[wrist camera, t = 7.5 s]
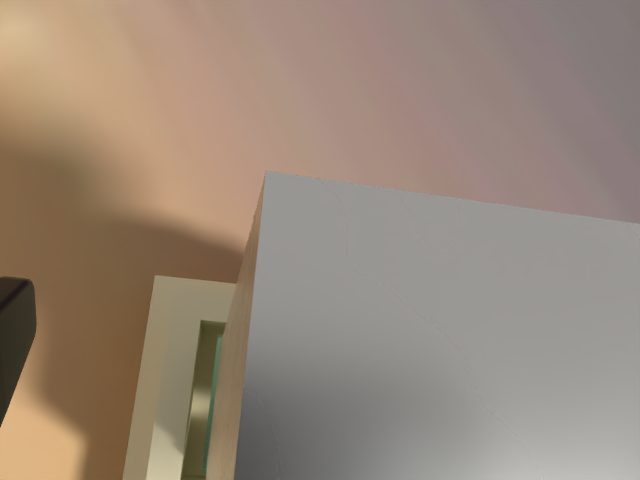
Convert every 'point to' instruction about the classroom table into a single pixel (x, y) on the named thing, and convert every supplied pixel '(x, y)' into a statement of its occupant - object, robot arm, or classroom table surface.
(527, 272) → the block
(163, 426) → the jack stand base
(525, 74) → the classroom table surface
